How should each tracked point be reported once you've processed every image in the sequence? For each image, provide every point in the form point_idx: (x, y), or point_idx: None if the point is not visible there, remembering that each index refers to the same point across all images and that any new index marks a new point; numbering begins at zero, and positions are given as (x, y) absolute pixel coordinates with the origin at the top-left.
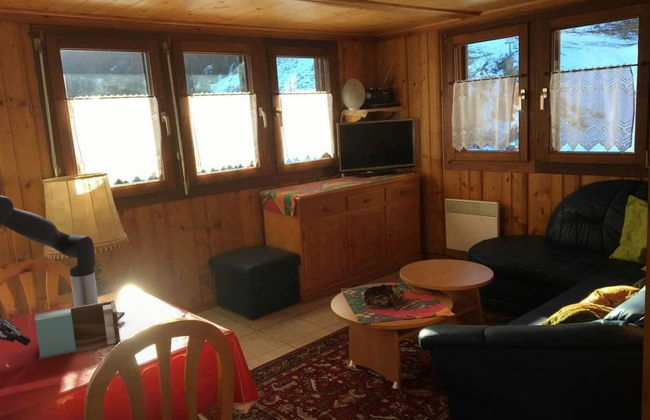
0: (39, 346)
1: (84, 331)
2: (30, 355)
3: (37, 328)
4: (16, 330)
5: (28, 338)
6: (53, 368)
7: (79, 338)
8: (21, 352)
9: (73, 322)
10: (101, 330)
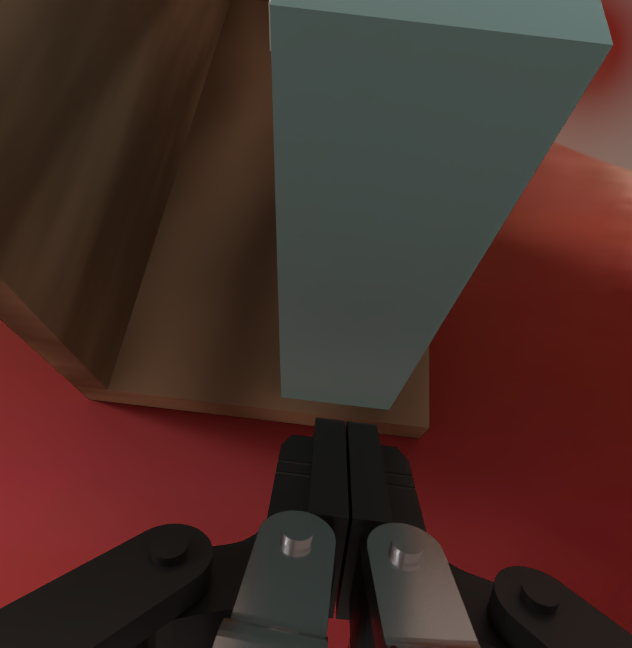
0: (413, 362)
1: (185, 66)
2: (165, 495)
3: (493, 217)
4: (292, 601)
5: (338, 432)
6: (560, 351)
7: (186, 136)
8: (8, 577)
9: (145, 15)
10: (213, 11)
